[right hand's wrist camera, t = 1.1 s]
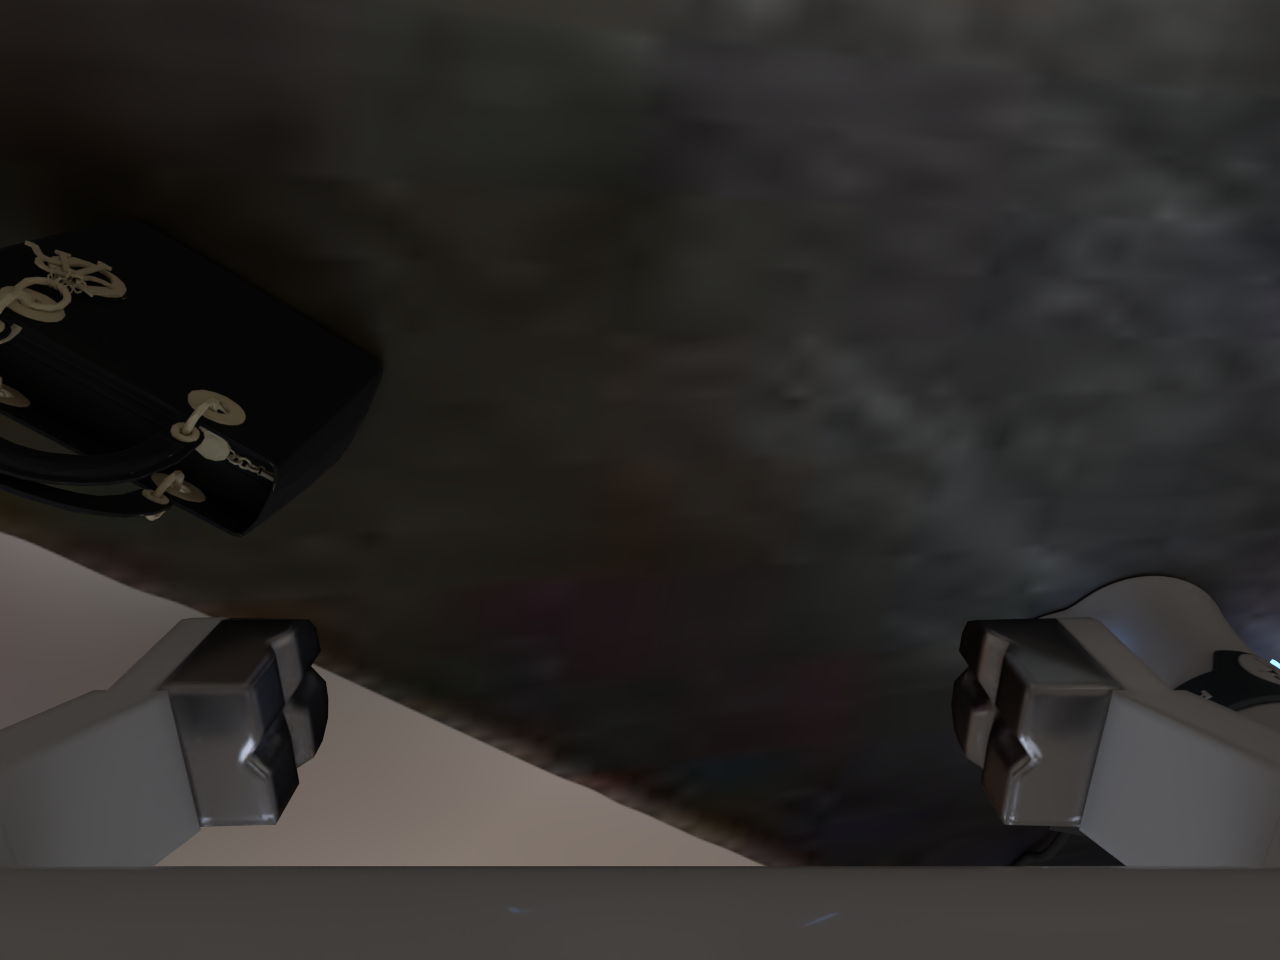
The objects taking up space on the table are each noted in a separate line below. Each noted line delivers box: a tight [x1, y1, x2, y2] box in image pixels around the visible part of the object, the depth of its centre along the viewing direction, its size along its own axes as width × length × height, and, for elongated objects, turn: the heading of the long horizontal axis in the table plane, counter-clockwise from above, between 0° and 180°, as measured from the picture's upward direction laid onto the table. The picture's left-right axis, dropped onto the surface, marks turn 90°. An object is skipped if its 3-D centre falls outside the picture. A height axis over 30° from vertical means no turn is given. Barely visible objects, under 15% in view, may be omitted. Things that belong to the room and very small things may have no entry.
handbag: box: [0, 219, 383, 537], centre depth 45 cm, size 21×9×25 cm, turn 57°
